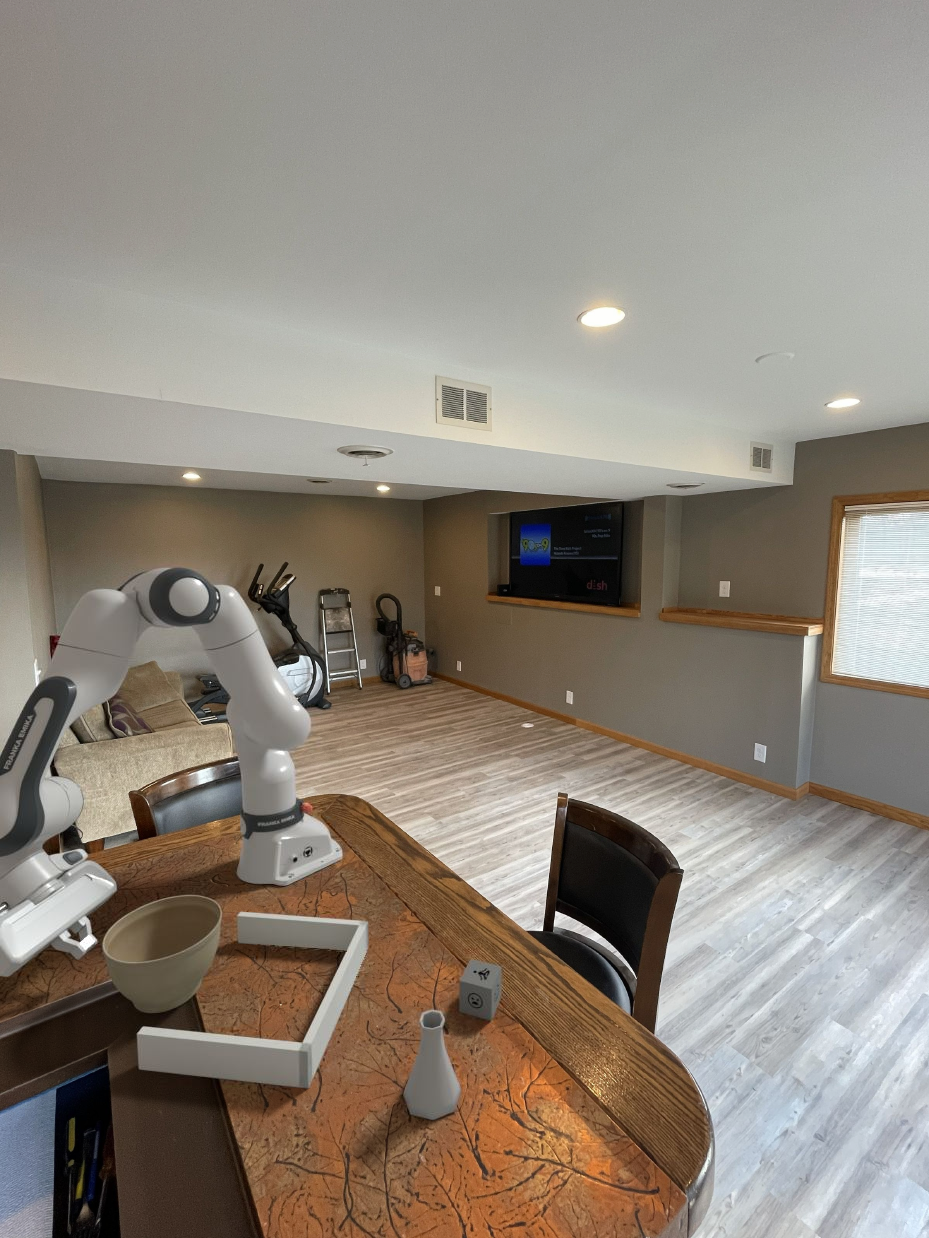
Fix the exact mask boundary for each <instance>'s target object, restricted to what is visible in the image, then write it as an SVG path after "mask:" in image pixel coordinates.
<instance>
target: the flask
mask: <svg viewBox="0 0 929 1238" xmlns="http://www.w3.org/2000/svg"><path fill="white" fill-rule="evenodd" d="M445 1021H446V1019H445V1016H444V1014H443V1012H442V1011H441V1010H436V1009H429V1010H426V1011H423V1012H421V1014H420V1017H419V1019H418V1024H419V1027H420V1033H421V1034H420V1041H419V1047H418V1051H417V1054H416V1057H415V1060H414V1063H413V1066H412V1069H411V1072H410V1074H409V1076H408V1080H407V1082H406V1084H405V1088H404V1091H403V1097H404V1102H405V1103H406V1107H407V1109H408V1111H409V1112H408V1113H409V1115H411V1116H413V1117H414V1116H415V1117H420V1118H424V1119H426V1120H427V1119H428V1120H432V1121H434V1120H436V1119H439V1118H441V1117H444V1116H446V1115H447V1116H448V1114H451V1113H454V1112H457V1105H458V1103H459V1100H460V1095H461V1091H462V1088H461V1086H460V1083H459V1080H458V1078H457V1075H456V1072H455V1070H454V1068H453V1065H452V1063H451V1060H450V1057H449V1054H448V1052H447V1049H446V1044H445V1039H444V1035H443V1034H444V1032H443V1028H444V1025H445Z"/></svg>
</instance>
